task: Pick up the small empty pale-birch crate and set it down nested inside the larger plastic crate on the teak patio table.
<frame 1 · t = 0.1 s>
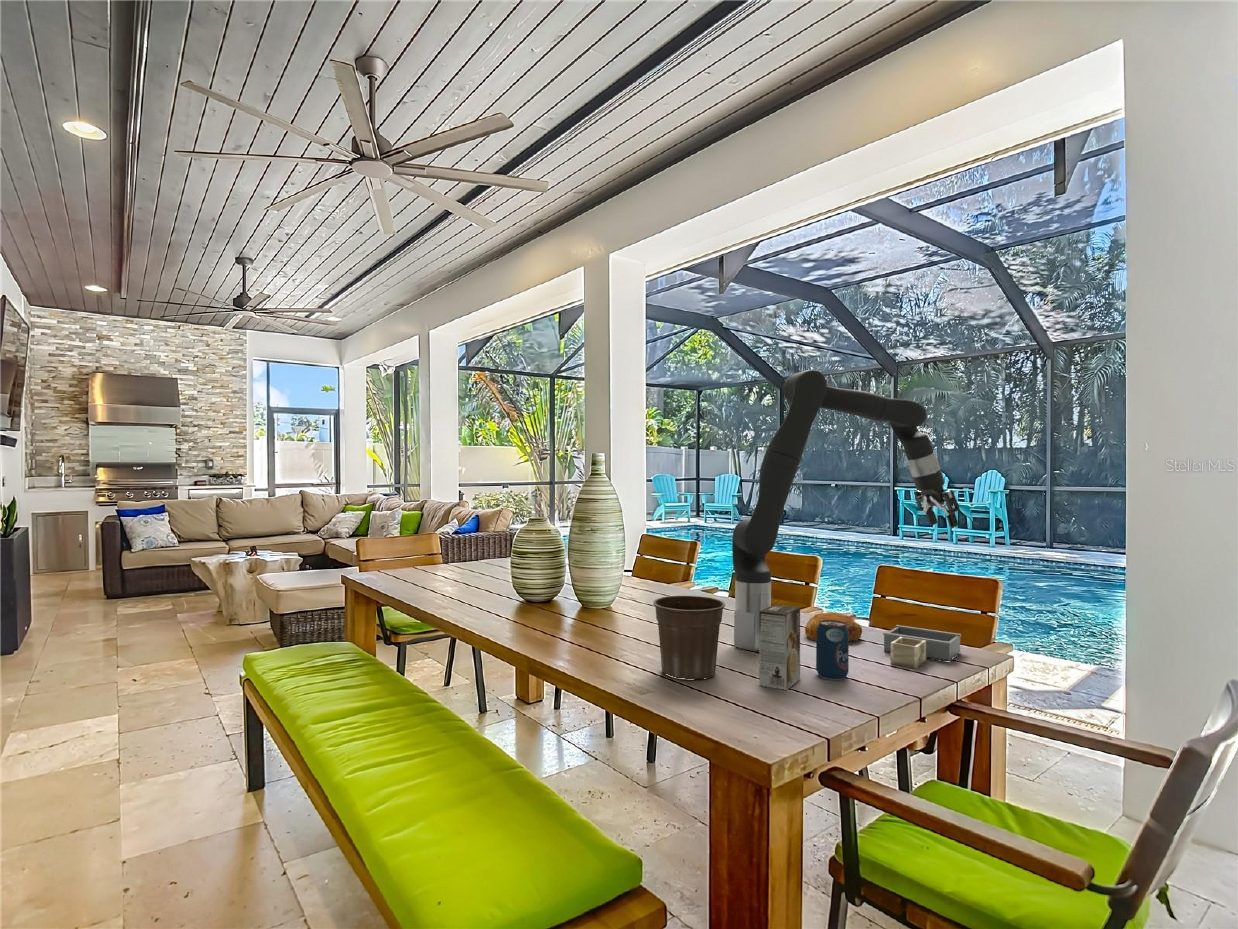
hand: (944, 525, 188), 31 cm above the table, tool tilted 20°, fingers open, 8 cm apart
soda can: (832, 677, 151), on the table
small crate: (908, 662, 163), on the table
plant pot: (688, 674, 153), on the table
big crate: (922, 652, 172), on the table
coffee box: (779, 683, 146), on the table
croissant: (831, 638, 188), on the table
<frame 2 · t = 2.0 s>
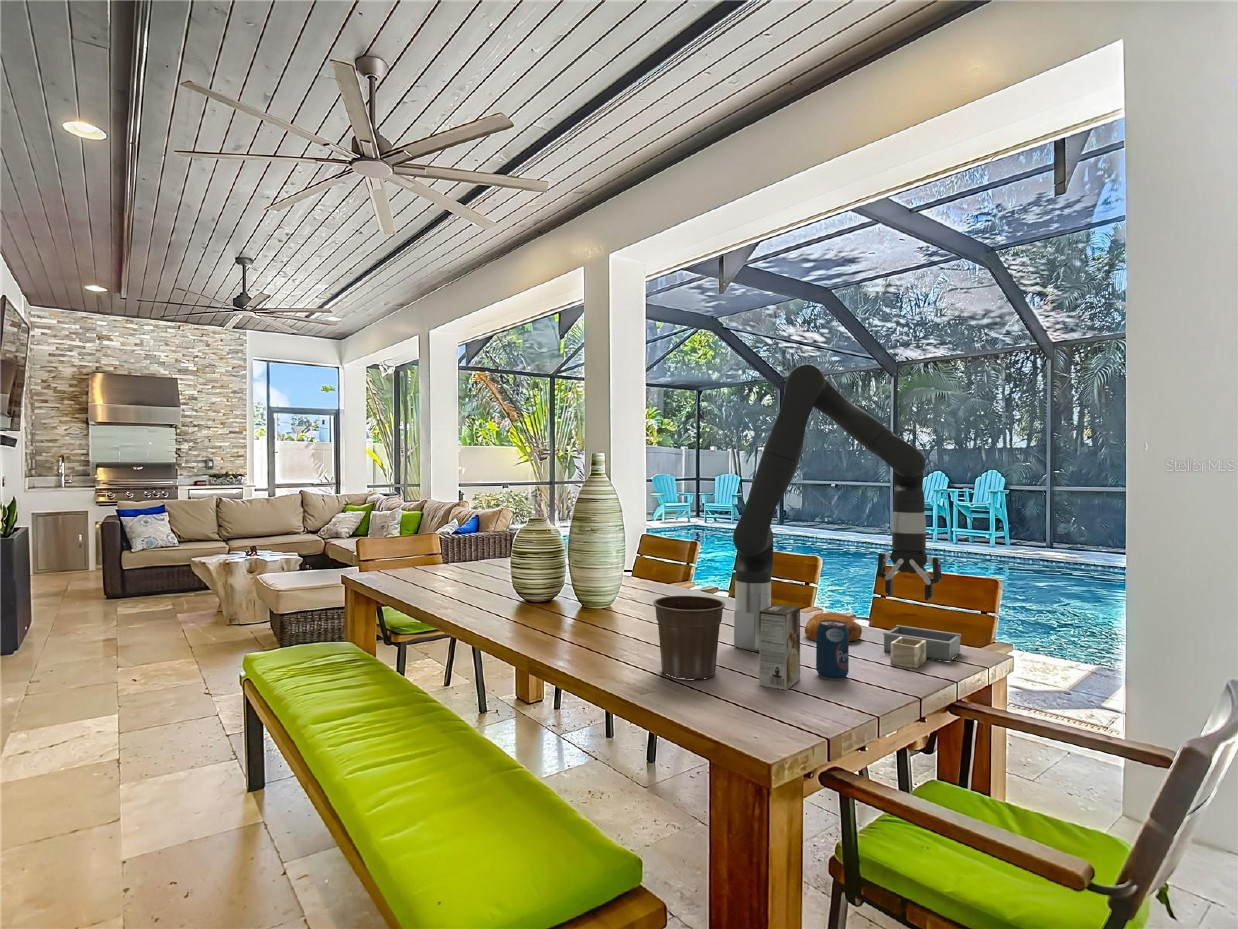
hand: (908, 597, 163), 16 cm above the table, tool pointing down, fingers open, 8 cm apart
nothing on the table moved.
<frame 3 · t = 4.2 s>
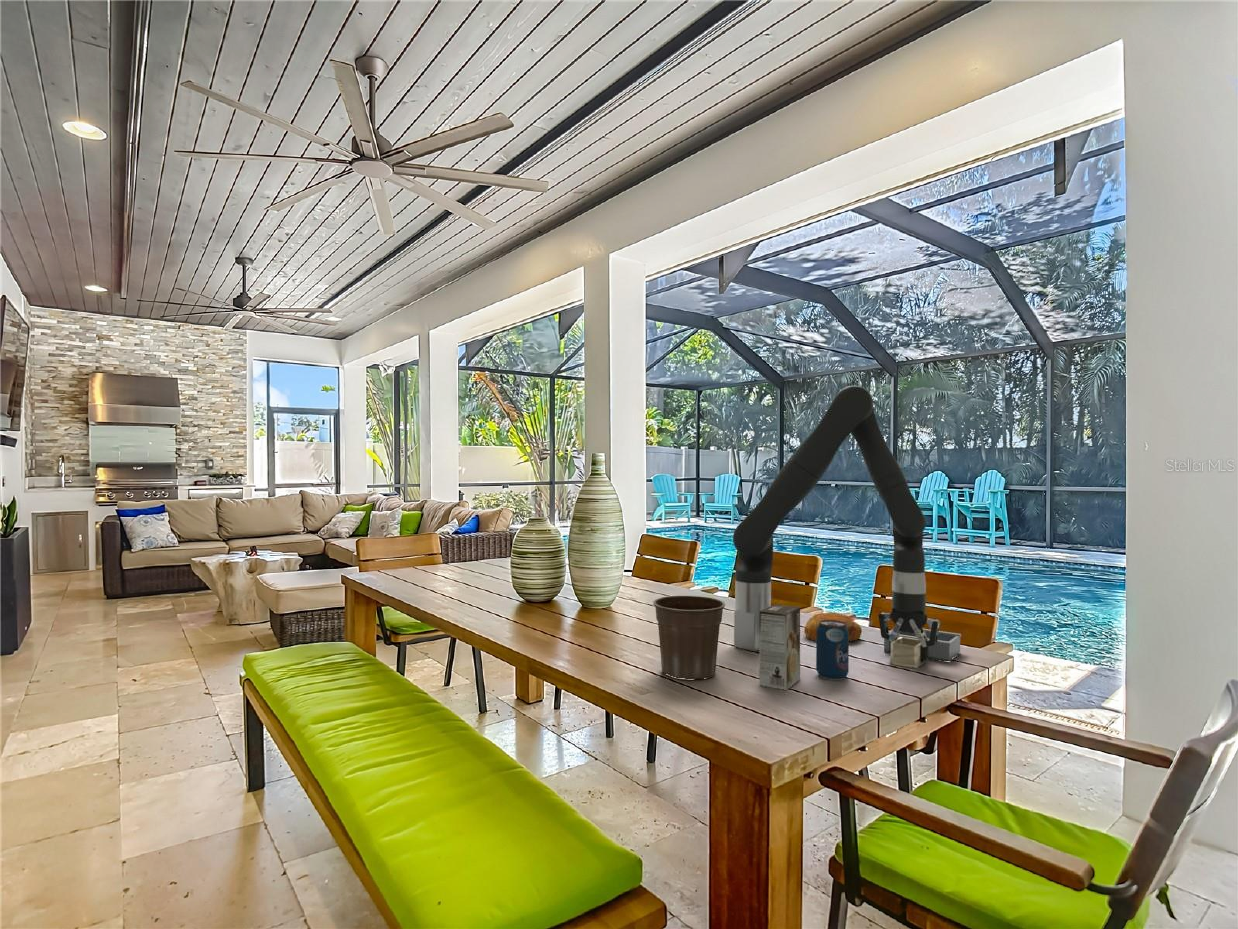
hand: (908, 659, 163), 1 cm above the table, tool pointing down, fingers closed on small crate, 6 cm apart
small crate: (908, 662, 163), on the table, touching gripper
everything else where it was.
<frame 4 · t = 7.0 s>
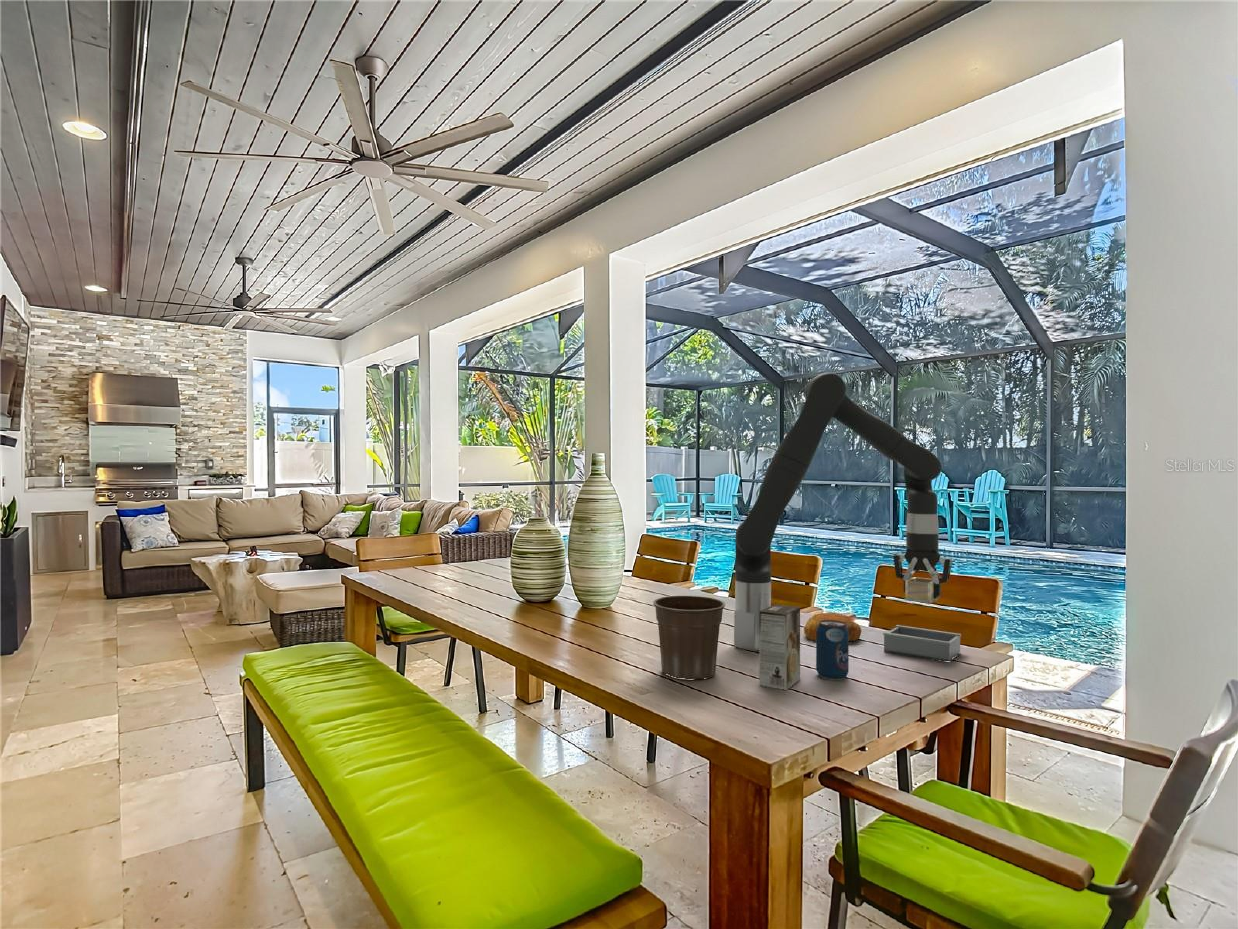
hand: (922, 596, 173), 14 cm above the table, tool pointing down, fingers closed on small crate, 6 cm apart
small crate: (922, 599, 173), point 13 cm above the table, touching gripper
everything else where it was.
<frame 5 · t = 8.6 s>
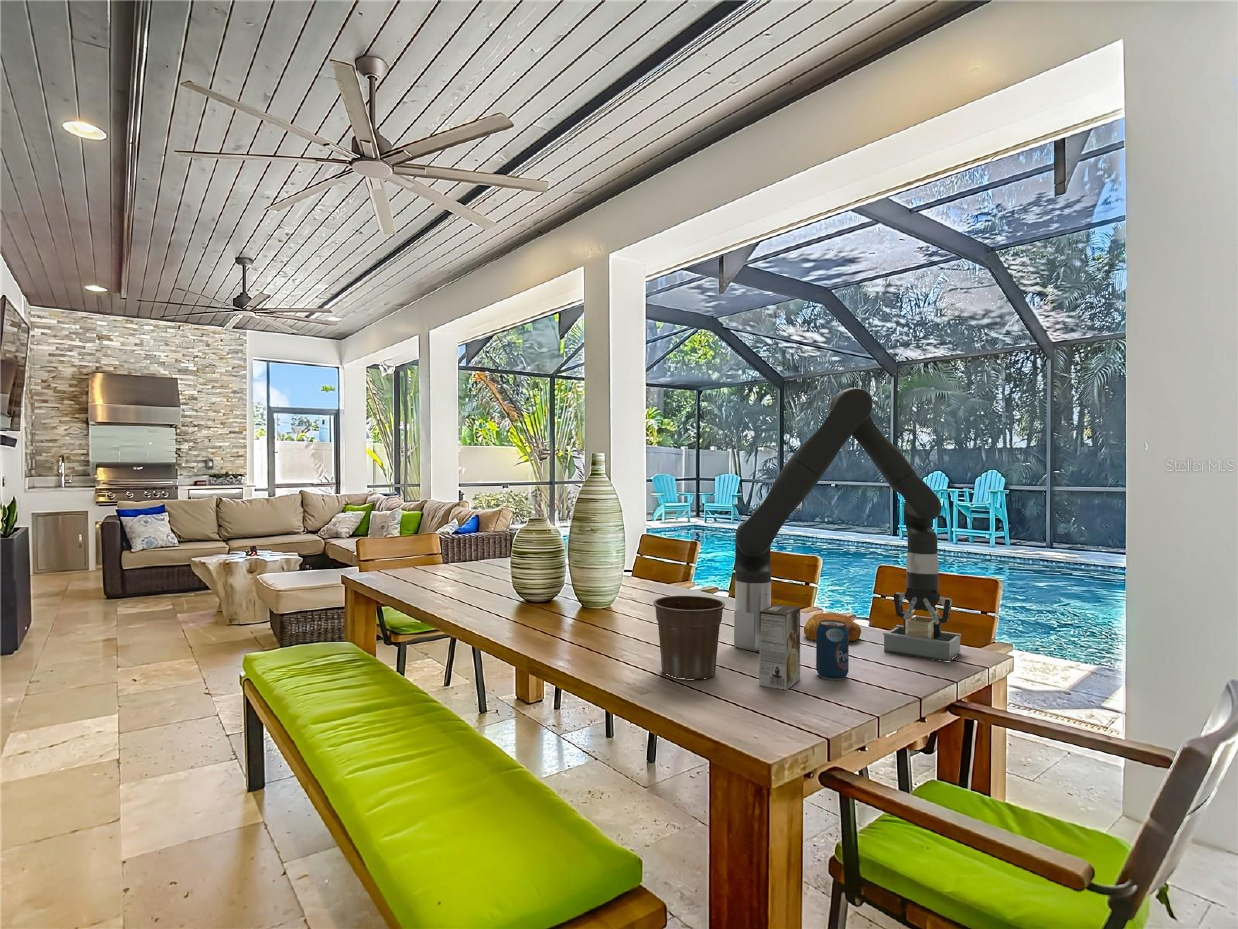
hand: (922, 636, 172), 4 cm above the table, tool pointing down, fingers closed on small crate, 6 cm apart
small crate: (922, 639, 172), point 3 cm above the table, touching gripper
everything else where it was.
when the fingers open (4 cm above the table, at t = 9.7 s): small crate drops 2 cm, resting on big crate.
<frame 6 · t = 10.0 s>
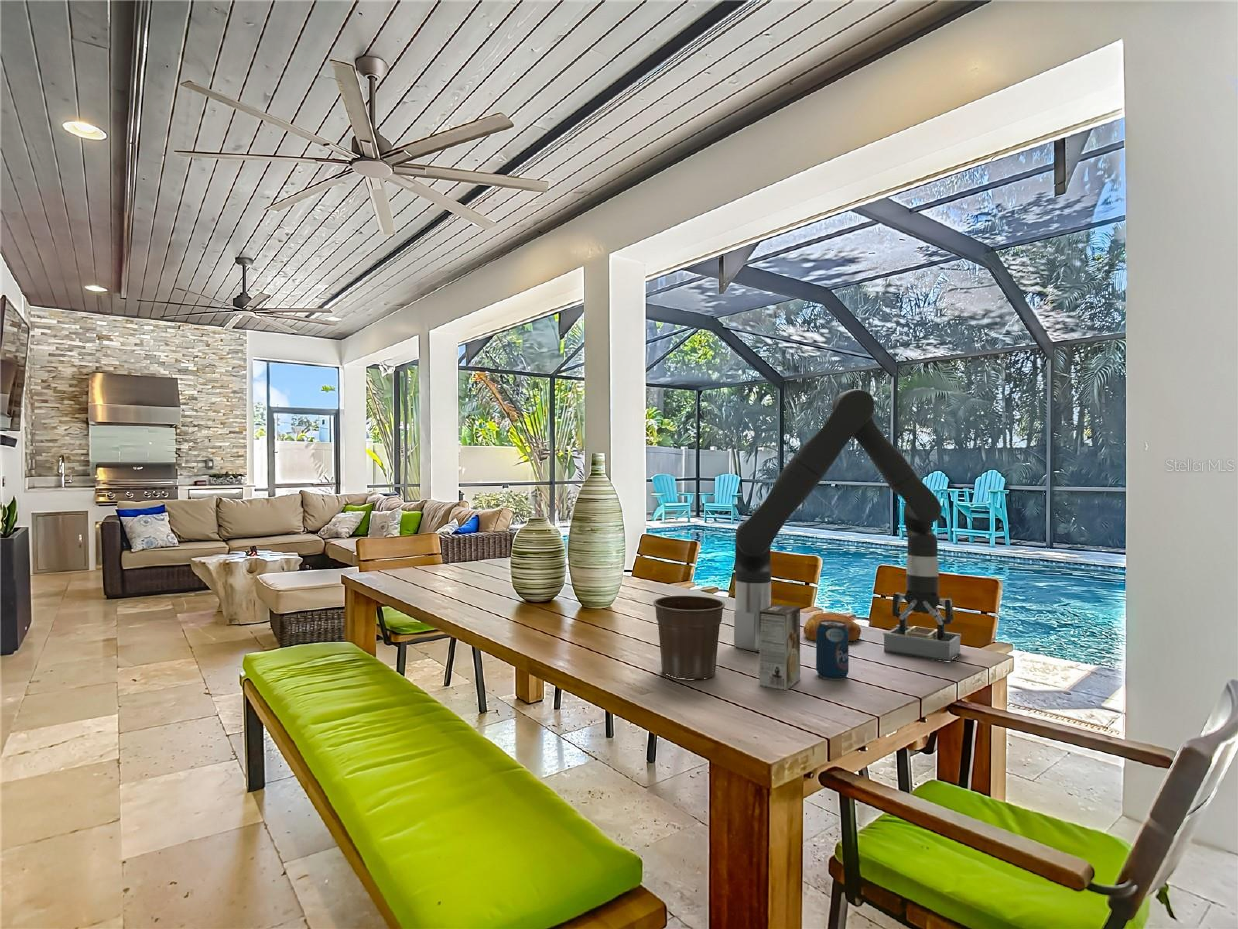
hand: (922, 636, 172), 4 cm above the table, tool pointing down, fingers open, 8 cm apart
small crate: (921, 650, 172), point 1 cm above the table, touching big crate
everything else where it was.
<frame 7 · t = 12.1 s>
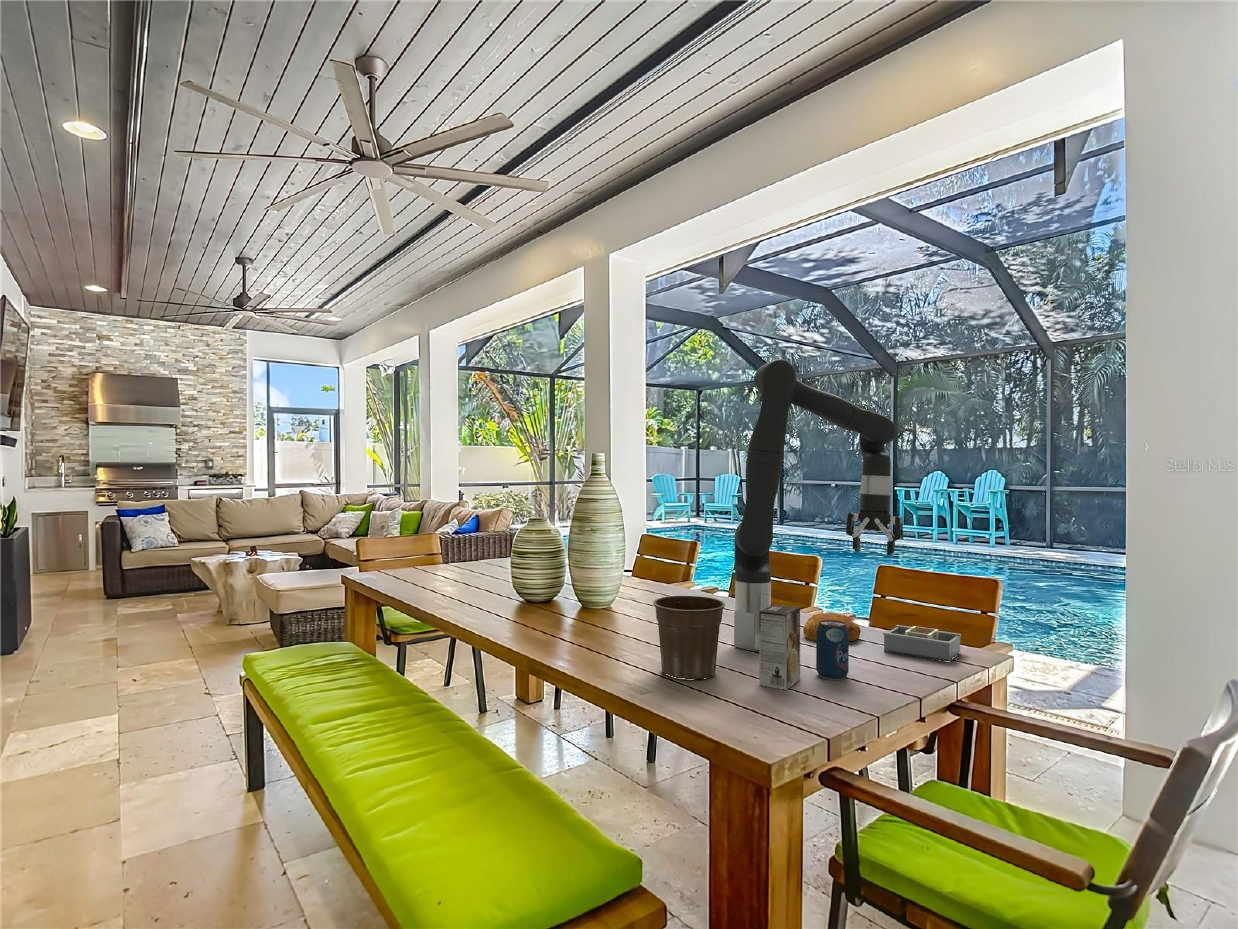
hand: (873, 553, 180), 24 cm above the table, tool pointing down, fingers open, 8 cm apart
nothing on the table moved.
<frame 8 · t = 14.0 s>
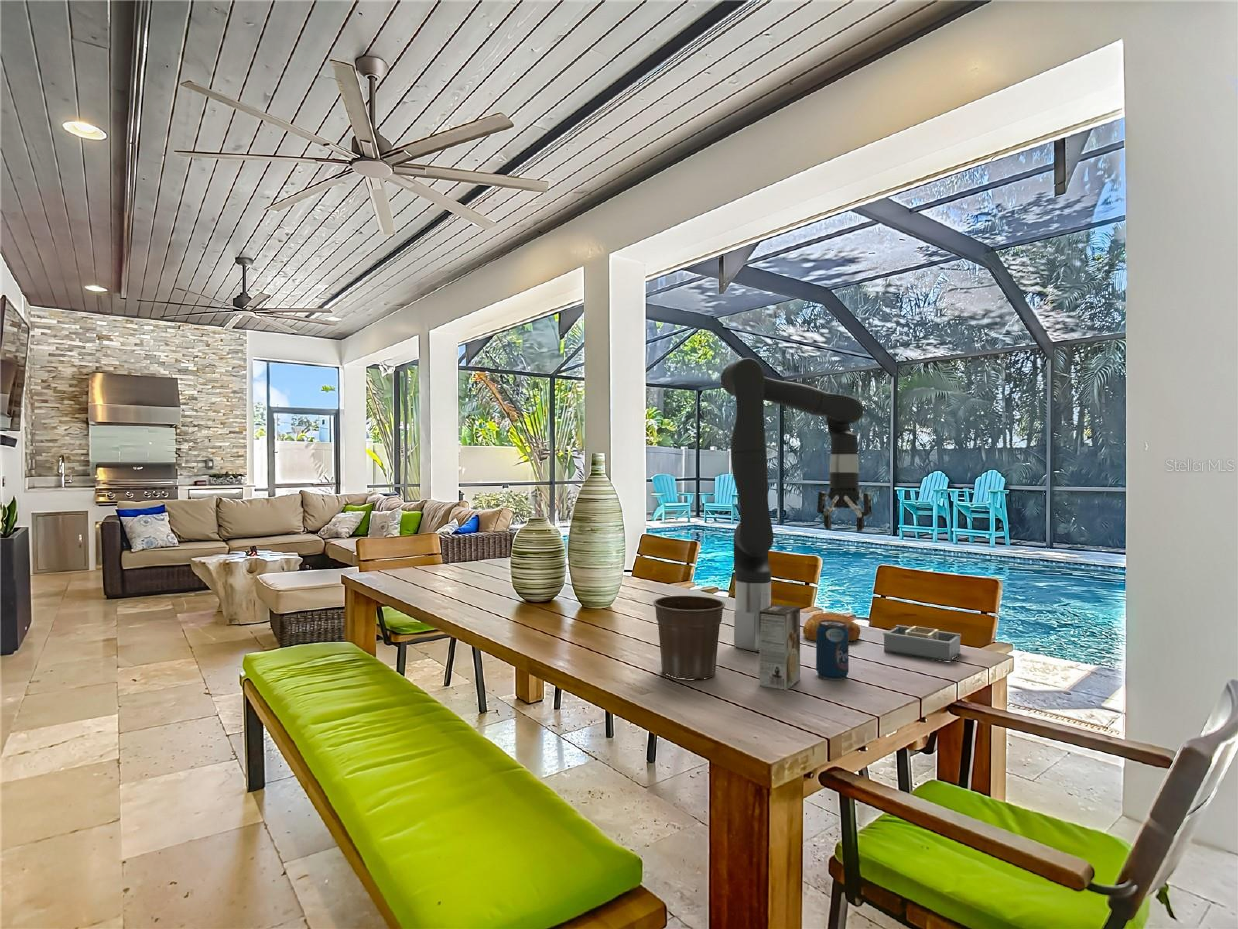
hand: (843, 530, 185), 30 cm above the table, tool pointing down, fingers open, 8 cm apart
nothing on the table moved.
at the end: small crate inside the target area on the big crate (0.1 cm from its centre), point 0.6 cm above the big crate's base; small crate tilted 0°; the gripper is holding nothing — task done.
